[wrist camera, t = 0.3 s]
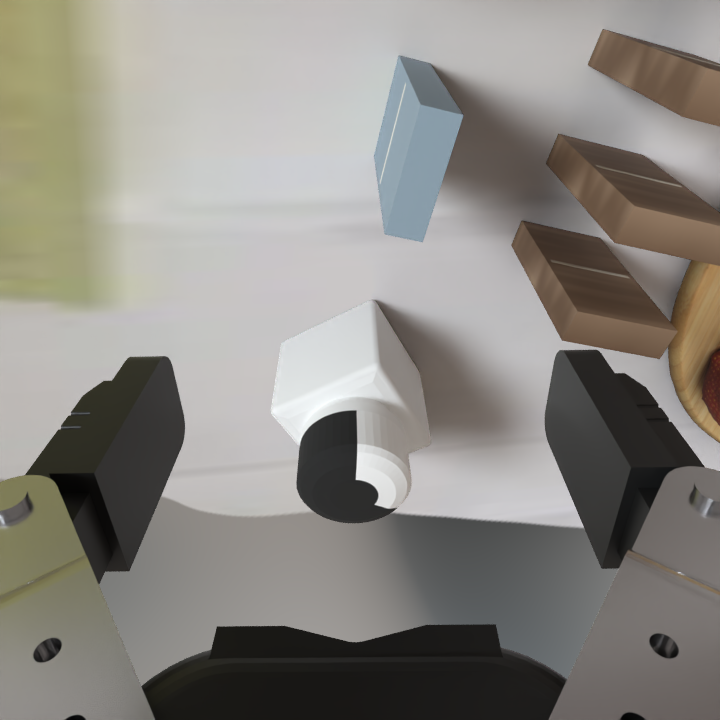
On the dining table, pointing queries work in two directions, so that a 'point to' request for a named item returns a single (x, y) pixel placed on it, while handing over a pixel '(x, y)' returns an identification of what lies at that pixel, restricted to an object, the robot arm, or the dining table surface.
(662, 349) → the brown wooden block
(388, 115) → the tile
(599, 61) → the tile
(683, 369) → the wooden plate with food
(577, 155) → the tile
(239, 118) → the dining table surface
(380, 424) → the medicine bottle
